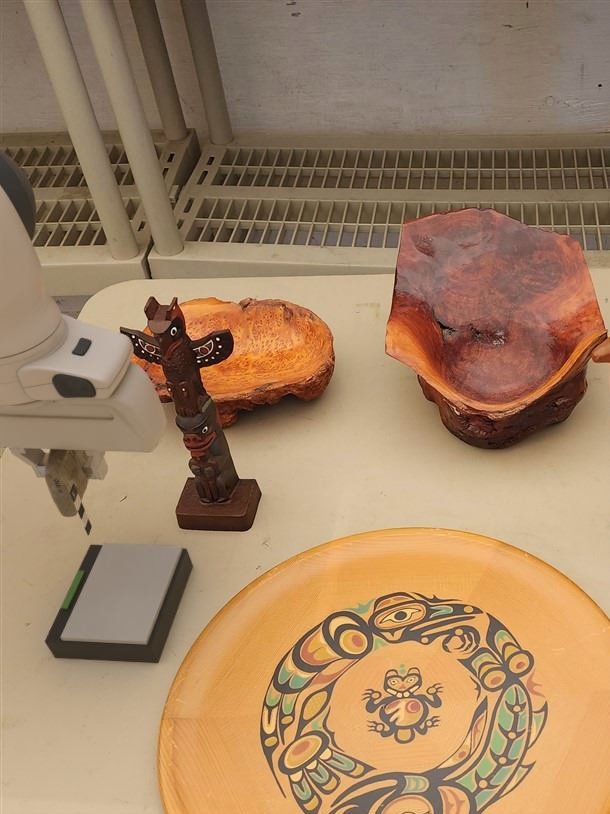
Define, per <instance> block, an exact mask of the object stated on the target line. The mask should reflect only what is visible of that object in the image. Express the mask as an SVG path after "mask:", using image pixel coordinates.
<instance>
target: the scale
mask: <svg viewBox="0 0 610 814" xmlns="http://www.w3.org/2000/svg"><path fill="white" fill-rule="evenodd" d="M193 566H194V563H193V561H192V559H191V556H190V553H189V551H188V549H187V548H183V547H182V546H181V545H162V544H139V543H138V544H137V543H115V542H104V543H103V544H90V545H89V547H88V549H87V550H86V552H85V555H84V557H83V560H82V562H81V564H80V566H79V568H78V570H77V571H76V574H75V577H74V579H73V580H72V582H71V584H70V587H69V589H68V591H67V593H66V595H65V597H64V599H63V602H62V604H61V606H60V608H59V610H58V612H57V615H56V616H55V618H54V621H53V623H52V625H51V627H50V629H49V631H48V633H47V636H46V637H45V640H44V643H45V645H46V646H47V647H48V649H49V651H50V653H51V655H52V656H53V657H54V658H56V659H57V658H58V659H73V660H74V659H76V660H94V661H96V660H97V661H112V662H113V661H115V662H137V663H153V664H154V663H156V664H157V663H158V664H159V661H160V658H161V656H162V653H163V650H164V647H165V645H166V642H167V639H168V636H169V635H170V631H171V628H172V625H173V623H174V620H175V617H176V615H177V612H178V608H179V606H180V603H181V600H182V597H183V595H184V592H185V589H186V587H187V584H188V581H189V578H190V575H191V572H192V569H193Z"/></svg>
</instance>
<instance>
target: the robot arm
mask: <svg viewBox="0 0 610 814" xmlns="http://www.w3.org/2000/svg"><path fill="white" fill-rule="evenodd" d="M36 227H37V203H36V197H35V192H34V189H33V186H32V184H31V182H30V179H29V178H28V176H27V175H26V173H25V172H24V171H23V169H22V167H21V166H20V165H19V164H18V163H17V162H16V161H15V160H14V159H13V158H12V157H11V156H9V155H8V154H7V153H6V152H4V151H3V150H2V149H0V448H7V449H9V451H10V453H11V454H12V455H13V456H15V457H16V458H18V459H19V460H21V461H22V462H24V464H26V465H28V466H30V467H31V468H32V471H33V472H34V474H35V476H36V477H37V478H42V479H43V478H44V479H45V468H46V463H47V459H48V455H49V452H45V450H50V449H62V450H84V451H85V453H86V455H87V458H86V462H85V463H84V464H83V466H82V470H83V472H84V473H85V474H86V476H85V477H86V478H87V479H89V480H96V481H97V480H98V481H103V480H104V479H105V477H106V475H107V473H108V471H109V466H108V464H107V461H106V459H105V456H106V455H105V454H106V452H120V453H121V452H123V453H125V452H126V453H143V454H144V453H146V454H147V453H148V454H149V453H153V451H154V450H155V449H156V448H157V447H158V445H160V442H161V440H162V439H163V437H164V435H165V434H164V433H165V431H166V428H167V426H168V425H167V423H168V419H167V416H166V412H165V409H164V407H163V404H162V402H161V399H160V396H159V394H158V392H157V390H156V387H155V385H154V384H153V382H152V379H150V377H149V375H148V374H147V372H146V371H145V370H144V369H143V368H142V367H141V366H140V365H138V364H137V363H136V362H134V361H132V358H133V355H134V351H135V350H134V349H135V348H134V345H133V342H132V340H131V339H130V337H129V336H128V335H126V334H123V332H122V333H121V332H118V331H114V330H111V329H107V328H104V327H100V326H97V325H94V324H90V323H88V322H85V321H82V320H80V319H77V318H74V317H72V316H70V315H68V314H64V313H62V312H61V309H60V307H59V305H58V304H57V302H56V301H55V299H54V298H53V297H52V296H51V295H50V294H49V292H48V290H47V289H46V287H45V284H44V276H43V266H42V264H41V261H40V258H39V256H38V254H37V252H36V249H35V246H34V244H33V242H32V241H33V239H34V236H35V232H36Z"/></svg>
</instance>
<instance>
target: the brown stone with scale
mask: <svg viewBox="0 0 610 814" xmlns="http://www.w3.org/2000/svg"><path fill="white" fill-rule="evenodd" d="M48 453H49V455H48V459H47V463H46V468H45V478H44V481H45V484H46V486H47V488H48V492H49V494H50V496H51V498H52V501H53V503H54V505H55V506H56V508H57V511H58V512H59V513H60V514H61V516H62V517H64V518H72V517H76V516H77V515H78V516H79V518H80V520H81V523H82V525H83V528H84V530H85V532H86V535H87V536H90V533H91V531H92V528H93V526H92V523H91V521H90V518H89V516H88V514H87V511H86V509H85V507H84V503H83V502H82V500H83V498H84V494H85V492H86V490H87V488H88V484H89V480H90V479H87V478H86V477H85V476H86V474H85V473H84V472H83V470H82V466H83V464H84V463H85V462H86V458H87V455H86V453H85V451H84V450H62V449H49V452H48Z"/></svg>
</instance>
